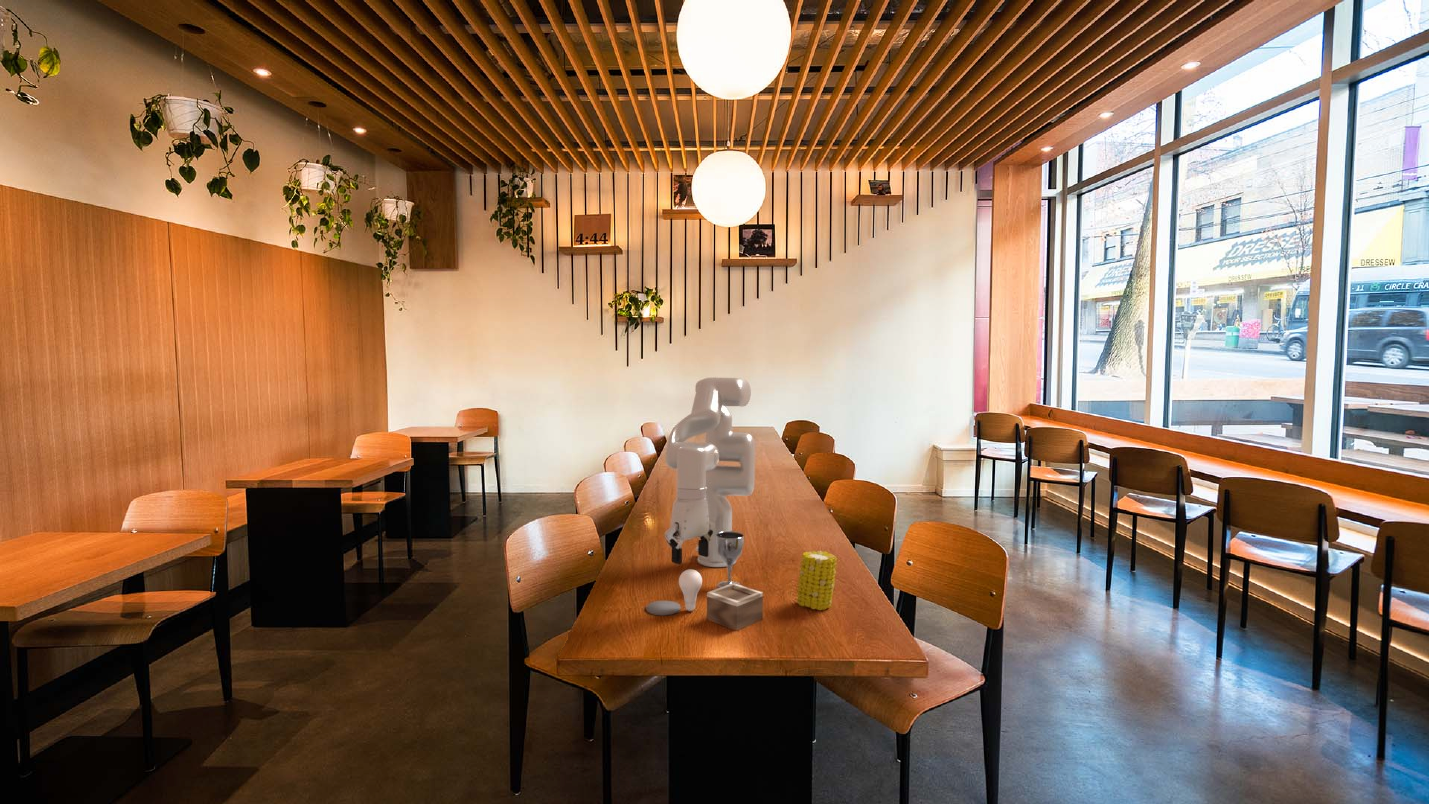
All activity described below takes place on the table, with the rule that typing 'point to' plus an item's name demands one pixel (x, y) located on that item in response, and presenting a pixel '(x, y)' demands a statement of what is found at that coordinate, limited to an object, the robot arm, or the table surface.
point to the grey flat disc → (663, 608)
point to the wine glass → (729, 551)
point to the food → (816, 580)
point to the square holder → (734, 606)
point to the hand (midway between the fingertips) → (690, 559)
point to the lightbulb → (690, 587)
